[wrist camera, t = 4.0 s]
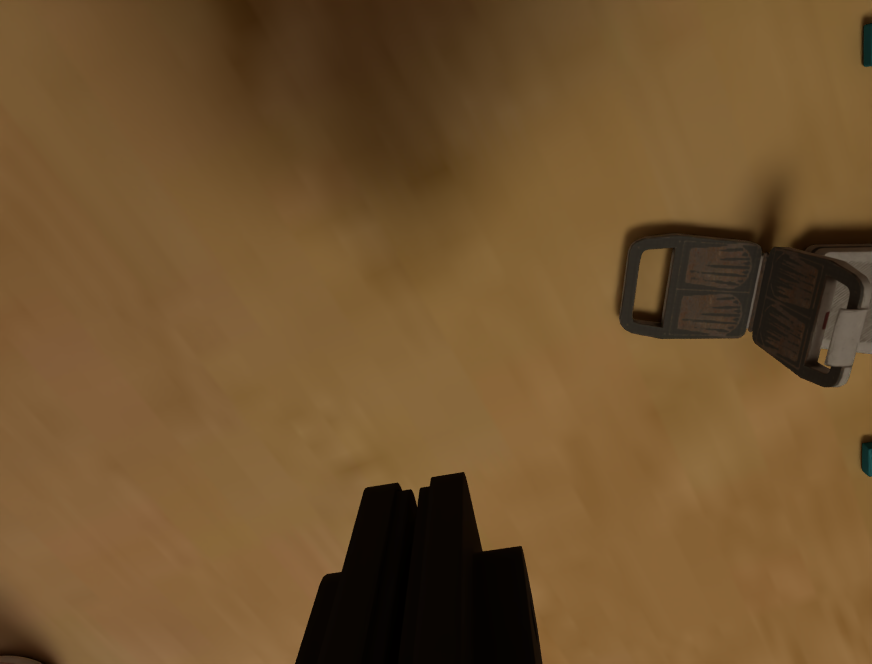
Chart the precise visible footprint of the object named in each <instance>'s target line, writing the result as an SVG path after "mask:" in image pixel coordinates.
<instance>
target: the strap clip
mask: <svg viewBox="0 0 872 664" xmlns="http://www.w3.org/2000/svg"><path fill="white" fill-rule="evenodd" d="M661 248H673V251H672V257H671V263H670V269H669V276H668V282H667V288H666V294H665V301H664V307H663V313H662V319H661V322H651V321H643V320H636V319H633V318H632V316H633V306H634V299H635V292H636V285H637V278H638V271H639V264H640V259H641V255H642V253H643V252H644V251H645V250H648V249H661ZM619 320H620V324H621V326H622V327H623V328H624V329H625V330H627V331H629V332H631V333H634V334H639V335H644V336H649V337H655V338H660V339H709V338H740V337H742V336H743V335H744V334H745V332H746V328H748V331H749V332H752V331H753V335H752V337H753V341H754V342H755V344H757V345H758V346H759V347H761V348H762V349H763V350H765V351H766V352H767V353H769V354H770V355H771V356H773V357H774V358H775V359H777V360H778V361H779V362H781V363H782V364H783V365H785V366H786V367H787V368H789V369H790V370H791V371H793V372H794V373H795V374H797V375H798V376H799V377H800V378H803V379H805V380H808V381H810V382H813V383H815V384H817V385H820V386H822V387H840V386H842V385H844V384H846V382H847V381H848V379H849V376H850V372H851V369H852V365H853V361H854V358H855V354H856V352H858V353H867V354H872V244H817V245H811V246H809V247H808V248H806V250H805V251H802V250H798V249H794V248H790V247H773V248H772V249H771V251H770V253H768V252H765V253H762V248H761V247H760V245H758V244H756V243H754V242H751V241H745V240H736V239H726V238H717V237H707V236H698V235H688V234H679V233H670V234H662V235H654V236H646V237H642V238H640V239H637V240H635V241H634V242H633V243H632V244H631V245H630V248H629V250H628V256H627V263H626V271H625V278H624V285H623V293H622V300H621V307H620V314H619ZM820 349H828V352H827V356H826V360H825V365H828V366H831V369H829V368H827V367H825V366H823V365H821V364H820V363H818V362H817V361H818V357H819V353H820Z"/></svg>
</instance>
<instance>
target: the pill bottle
mask: <svg viewBox="0 0 872 664" xmlns="http://www.w3.org/2000/svg"><path fill="white" fill-rule="evenodd" d="M0 664H42V663H40V662H38V661H36V660H33V659H29V658H25V657H20V656H0Z"/></svg>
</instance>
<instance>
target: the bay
mask: <svg viewBox="0 0 872 664" xmlns="http://www.w3.org/2000/svg"><path fill="white" fill-rule="evenodd" d="M864 66H865V67H868V66H872V23H870V24H866V25H864ZM862 470H863V472H864V473H865V474H867V475H868V476H869V477H871V476H872V442H868V443H863V444H862Z"/></svg>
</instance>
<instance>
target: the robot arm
mask: <svg viewBox="0 0 872 664" xmlns="http://www.w3.org/2000/svg"><path fill="white" fill-rule="evenodd" d="M295 664H542V657H541V650H540V643H539V636H538V629H537V623H536V617H535V611H534V605H533V599H532V594H531V589H530V583H529V578H528V573H527V568H526V563H525V558H524V554H523V549H522V546H518V547H511V548H504V549H497V550H490V551H482V547H481V542H480V538H479V533H478V529H477V524H476V520H475V515H474V511H473V506H472V502H471V497H470V493H469V488H468V484H467V480H466V476H465V474H464V472H461V473H455V474H449V475H442V476H436V477H432V478H431V482H430V486H429V487H423V488H420V491H419V499H418V507H417V505H416V501H415V497H414V494H413V491H412V490H411V489H410V490H404V491H402V489H401V487H400V485H399V484H398V483H392V484H386V485H380V486H373V487H367V488H365V490H364V492H363V496H362V499H361V503H360V507H359V510H358V514H357V518H356V521H355V525H354V529H353V532H352V536H351V540H350V543H349V547H348V551H347V554H346V558H345V562H344V565H343V569H342V572H338V573H331V574H326V575H325V576H324V577H323V579H322V581H321V583H320V586H319V589H318V592H317V595H316V598H315V602H314V605H313V608H312V611H311V614H310V618H309V621H308V624H307V627H306V630H305V634H304V637H303V640H302V643H301V646H300V650H299V653H298V656H297V659H296V662H295Z"/></svg>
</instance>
